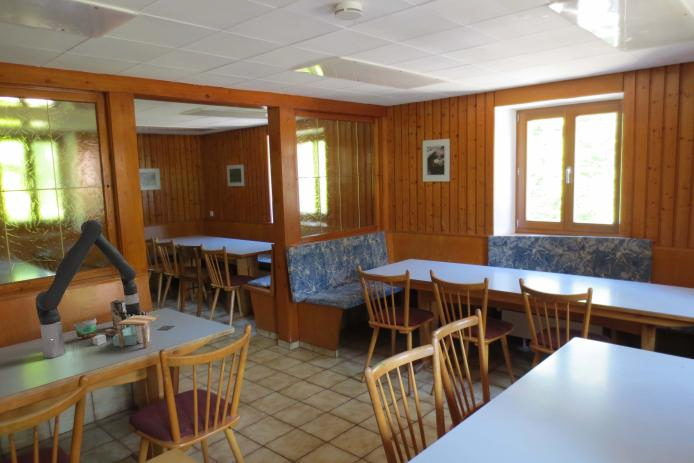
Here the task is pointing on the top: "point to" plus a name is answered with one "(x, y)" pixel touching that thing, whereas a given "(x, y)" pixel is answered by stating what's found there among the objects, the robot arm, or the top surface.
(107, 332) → the walnut stick
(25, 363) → the top surface
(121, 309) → the coffee box
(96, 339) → the grey block
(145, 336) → the light wood legged piece
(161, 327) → the dark grey flat slab
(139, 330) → the dixie cup
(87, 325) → the food container
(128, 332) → the crook
